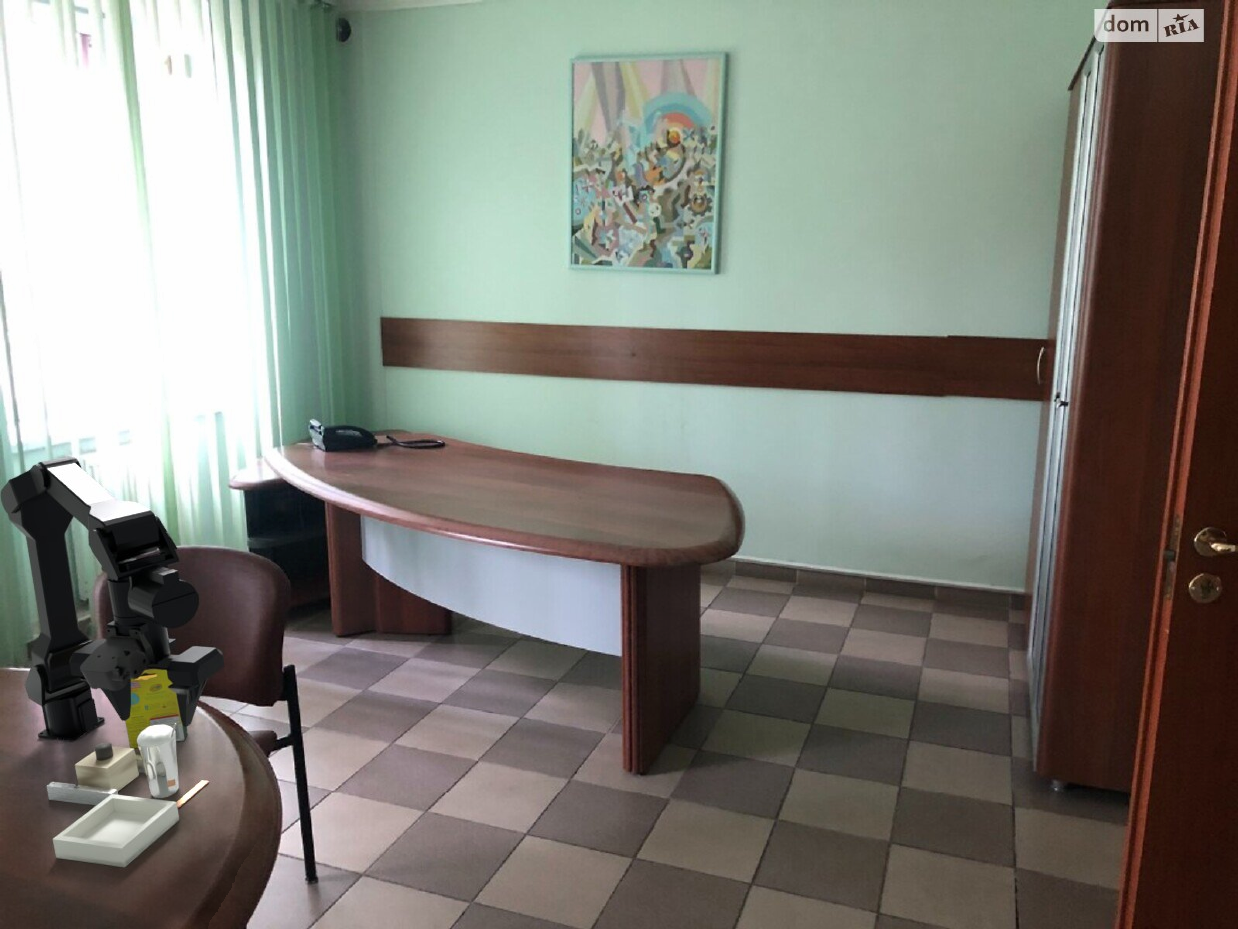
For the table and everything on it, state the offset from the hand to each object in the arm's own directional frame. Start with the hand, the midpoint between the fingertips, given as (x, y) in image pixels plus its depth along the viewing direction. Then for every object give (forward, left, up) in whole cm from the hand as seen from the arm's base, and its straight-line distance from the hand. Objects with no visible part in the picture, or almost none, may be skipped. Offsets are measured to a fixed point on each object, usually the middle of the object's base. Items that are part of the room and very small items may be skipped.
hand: (156, 722), depth 125 cm
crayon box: (-10, +12, -10) cm, 19 cm away
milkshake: (0, 0, -10) cm, 10 cm away
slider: (-9, 0, -10) cm, 13 cm away
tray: (+1, -10, -10) cm, 14 cm away
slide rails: (-5, 0, -10) cm, 11 cm away
